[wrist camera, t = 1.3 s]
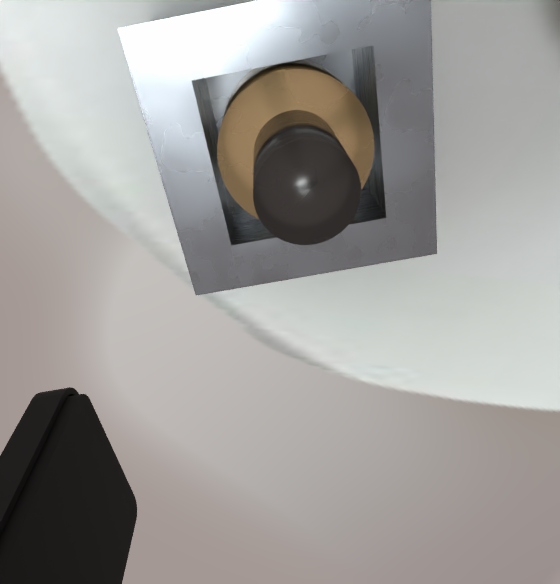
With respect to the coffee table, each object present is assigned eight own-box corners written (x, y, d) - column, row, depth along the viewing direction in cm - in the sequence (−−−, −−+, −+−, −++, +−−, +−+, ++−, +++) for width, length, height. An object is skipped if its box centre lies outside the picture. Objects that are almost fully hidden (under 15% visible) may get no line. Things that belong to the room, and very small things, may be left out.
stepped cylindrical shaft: (346, 45, 27) (401, 69, 17) (359, 178, 31) (411, 266, 21) (210, 71, 28) (183, 110, 17) (238, 200, 31) (230, 297, 21)
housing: (390, -26, 27) (429, -35, 21) (403, 207, 33) (436, 253, 27) (148, 23, 27) (117, 28, 21) (206, 243, 34) (195, 295, 28)
